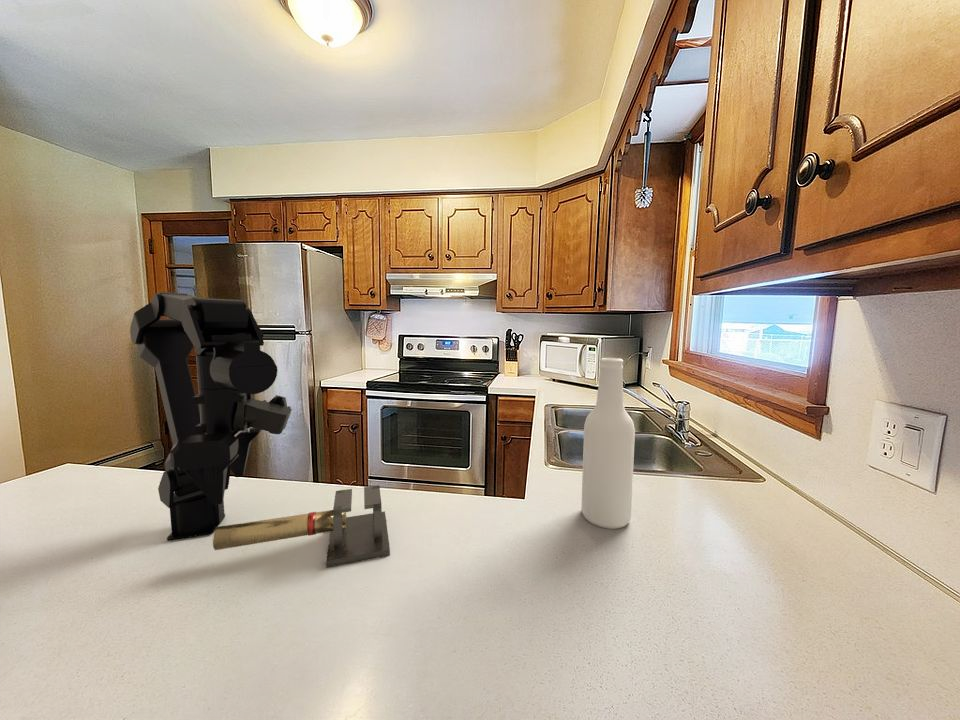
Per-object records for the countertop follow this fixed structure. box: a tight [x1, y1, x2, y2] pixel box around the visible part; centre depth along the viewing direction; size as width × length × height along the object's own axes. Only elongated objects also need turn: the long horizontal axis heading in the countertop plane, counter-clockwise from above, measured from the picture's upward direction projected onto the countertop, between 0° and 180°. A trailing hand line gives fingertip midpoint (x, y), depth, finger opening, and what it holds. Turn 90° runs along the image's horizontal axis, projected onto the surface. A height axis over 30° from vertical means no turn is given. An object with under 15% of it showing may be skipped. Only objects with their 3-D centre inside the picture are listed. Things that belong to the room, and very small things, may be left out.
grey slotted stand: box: [325, 484, 391, 569], centre depth 60 cm, size 9×12×7 cm
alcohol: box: [580, 357, 636, 530], centre depth 66 cm, size 9×9×30 cm
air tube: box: [212, 509, 347, 551], centre depth 56 cm, size 18×3×3 cm, turn 108°
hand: (229, 489), depth 53 cm, fingers open, 9 cm apart
